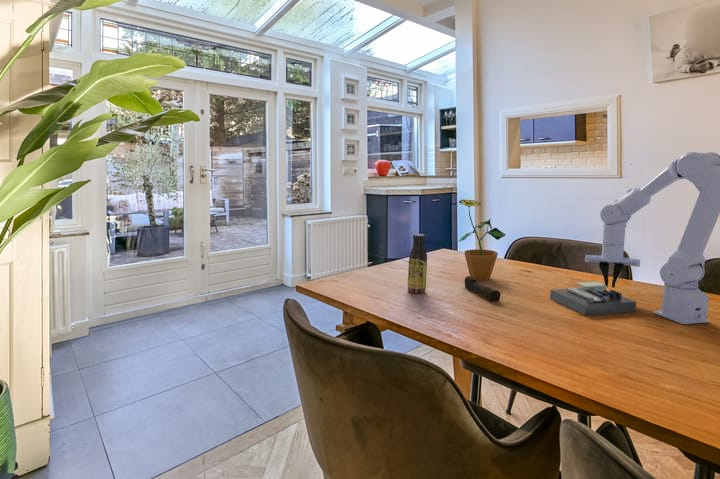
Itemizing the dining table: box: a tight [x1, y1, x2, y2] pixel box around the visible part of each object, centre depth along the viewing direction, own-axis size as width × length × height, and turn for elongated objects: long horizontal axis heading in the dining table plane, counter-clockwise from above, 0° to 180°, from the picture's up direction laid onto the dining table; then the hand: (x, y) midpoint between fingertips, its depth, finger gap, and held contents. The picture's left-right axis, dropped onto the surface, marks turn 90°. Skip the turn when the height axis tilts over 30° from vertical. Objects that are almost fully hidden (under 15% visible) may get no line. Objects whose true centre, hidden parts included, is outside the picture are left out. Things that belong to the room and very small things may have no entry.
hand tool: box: [464, 275, 502, 303], centre depth 138 cm, size 19×4×5 cm, turn 12°
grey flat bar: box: [565, 287, 604, 302], centre depth 123 cm, size 12×3×1 cm, turn 9°
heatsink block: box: [549, 287, 637, 316], centre depth 124 cm, size 16×16×4 cm
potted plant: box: [457, 199, 507, 281], centre depth 156 cm, size 18×19×30 cm
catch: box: [576, 281, 607, 292], centre depth 129 cm, size 4×7×2 cm, turn 99°
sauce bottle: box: [407, 233, 428, 294], centre depth 140 cm, size 7×6×20 cm
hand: (609, 286), depth 130 cm, fingers closed
